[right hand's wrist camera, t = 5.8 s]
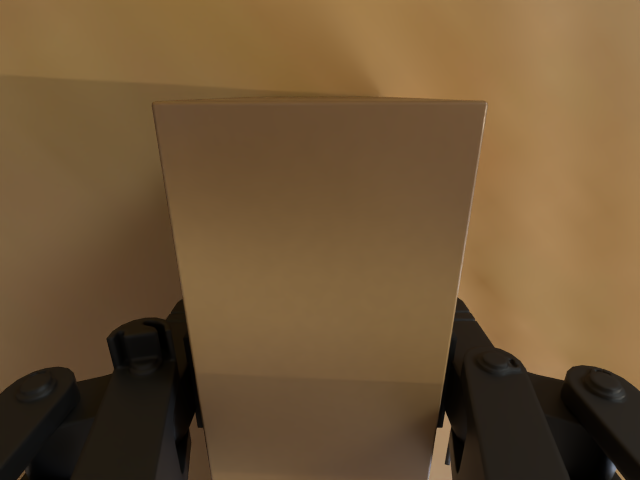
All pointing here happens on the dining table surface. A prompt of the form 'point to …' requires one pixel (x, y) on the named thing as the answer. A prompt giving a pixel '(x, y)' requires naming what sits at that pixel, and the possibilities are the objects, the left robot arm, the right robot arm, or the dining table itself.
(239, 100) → the post
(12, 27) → the dining table surface
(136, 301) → the dining table surface
